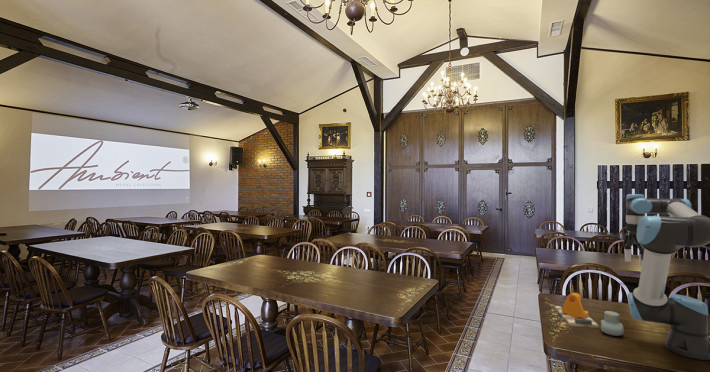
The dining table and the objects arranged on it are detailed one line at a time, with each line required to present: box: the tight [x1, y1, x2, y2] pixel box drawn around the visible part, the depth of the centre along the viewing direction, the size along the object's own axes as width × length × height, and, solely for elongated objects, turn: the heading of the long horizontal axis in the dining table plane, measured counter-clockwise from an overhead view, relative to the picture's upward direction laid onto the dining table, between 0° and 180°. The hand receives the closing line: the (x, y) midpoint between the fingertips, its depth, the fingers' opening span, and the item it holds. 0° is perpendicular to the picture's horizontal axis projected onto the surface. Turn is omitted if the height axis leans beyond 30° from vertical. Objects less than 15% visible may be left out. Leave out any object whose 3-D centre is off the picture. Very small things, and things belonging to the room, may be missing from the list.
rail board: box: [554, 302, 600, 329], centre depth 186 cm, size 26×13×3 cm, turn 164°
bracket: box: [562, 292, 589, 318], centre depth 186 cm, size 11×7×12 cm, turn 36°
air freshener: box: [600, 310, 624, 337], centre depth 166 cm, size 11×8×10 cm
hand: (635, 264), depth 179 cm, fingers open, 13 cm apart
